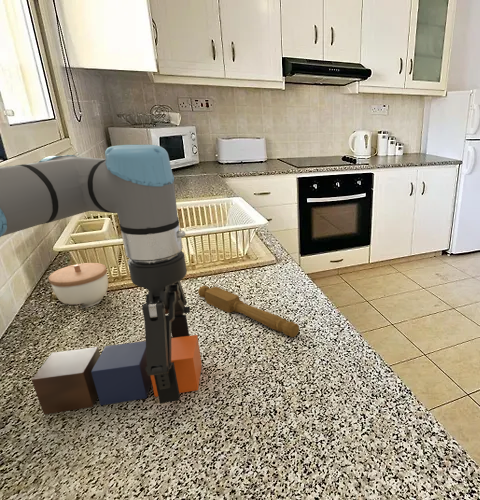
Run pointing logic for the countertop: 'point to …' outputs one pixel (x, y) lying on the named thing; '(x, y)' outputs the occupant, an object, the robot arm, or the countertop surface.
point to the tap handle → (246, 309)
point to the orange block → (185, 363)
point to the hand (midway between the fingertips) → (177, 371)
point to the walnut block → (67, 380)
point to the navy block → (122, 373)
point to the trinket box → (80, 284)
